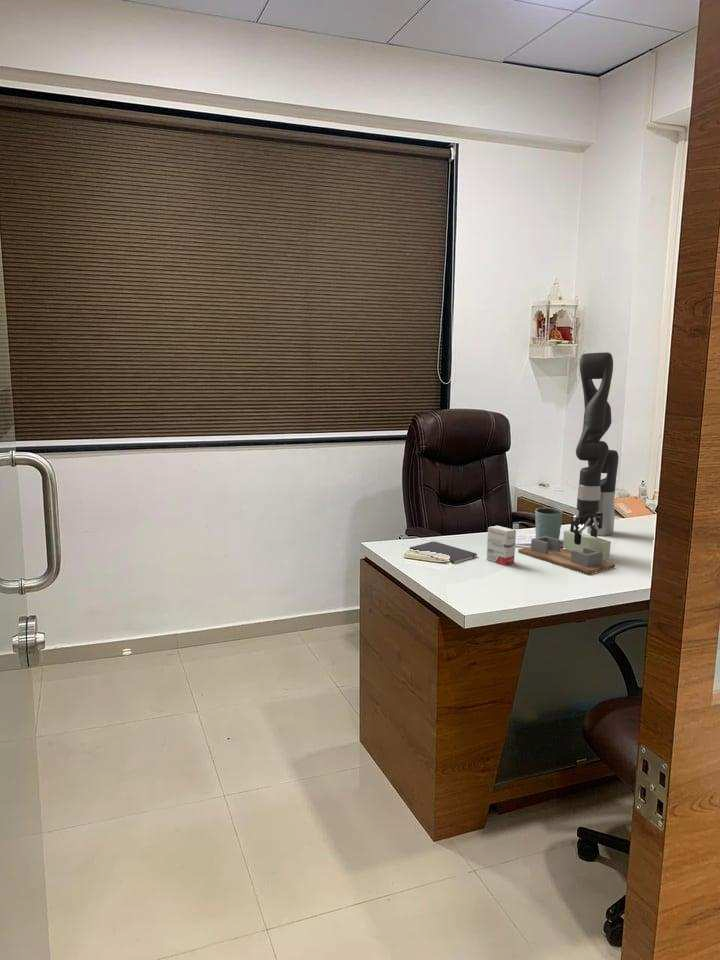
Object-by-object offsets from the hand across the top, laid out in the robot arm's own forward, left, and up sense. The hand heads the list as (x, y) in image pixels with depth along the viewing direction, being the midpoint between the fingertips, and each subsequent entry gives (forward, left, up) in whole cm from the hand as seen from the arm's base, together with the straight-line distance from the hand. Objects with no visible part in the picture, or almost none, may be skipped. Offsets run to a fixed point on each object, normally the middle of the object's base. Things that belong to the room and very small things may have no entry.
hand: (585, 542), depth 247 cm
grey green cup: (-2, -19, -5) cm, 20 cm away
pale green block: (0, 0, -5) cm, 5 cm away
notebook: (+41, -29, -5) cm, 50 cm away
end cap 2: (+11, +9, -3) cm, 14 cm away
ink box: (+31, -11, -5) cm, 33 cm away
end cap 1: (+11, -9, -3) cm, 14 cm away
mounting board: (+11, 0, -5) cm, 11 cm away
